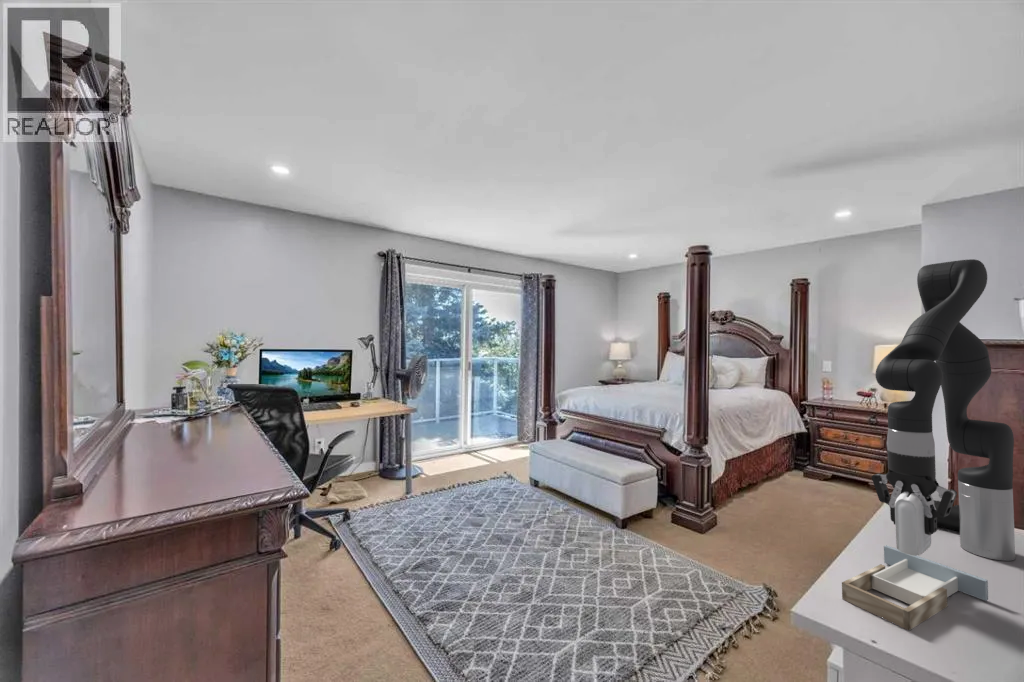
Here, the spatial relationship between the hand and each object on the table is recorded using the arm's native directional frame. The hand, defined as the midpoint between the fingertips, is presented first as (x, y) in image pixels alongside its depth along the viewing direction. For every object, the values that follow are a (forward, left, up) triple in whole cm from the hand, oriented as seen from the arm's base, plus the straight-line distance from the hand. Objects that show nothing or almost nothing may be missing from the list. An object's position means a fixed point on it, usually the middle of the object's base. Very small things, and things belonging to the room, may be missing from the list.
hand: (913, 528), depth 91 cm
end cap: (-46, -11, -14) cm, 49 cm away
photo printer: (0, 0, -4) cm, 4 cm away
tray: (0, 0, -14) cm, 14 cm away
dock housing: (+8, 0, -14) cm, 16 cm away
